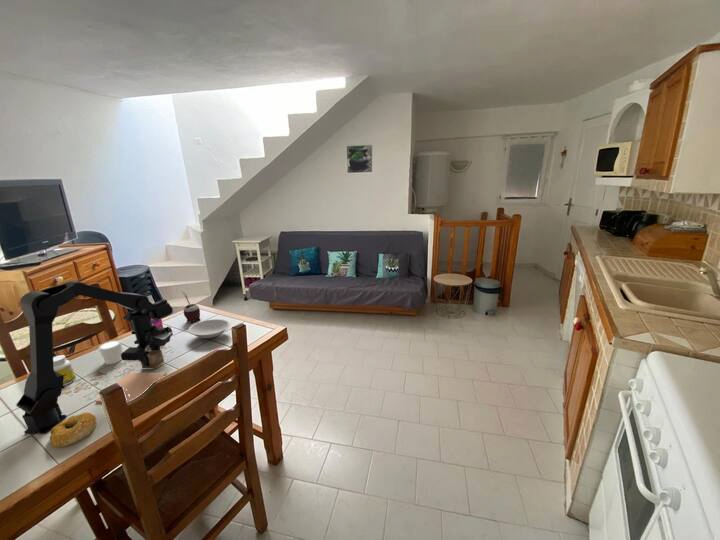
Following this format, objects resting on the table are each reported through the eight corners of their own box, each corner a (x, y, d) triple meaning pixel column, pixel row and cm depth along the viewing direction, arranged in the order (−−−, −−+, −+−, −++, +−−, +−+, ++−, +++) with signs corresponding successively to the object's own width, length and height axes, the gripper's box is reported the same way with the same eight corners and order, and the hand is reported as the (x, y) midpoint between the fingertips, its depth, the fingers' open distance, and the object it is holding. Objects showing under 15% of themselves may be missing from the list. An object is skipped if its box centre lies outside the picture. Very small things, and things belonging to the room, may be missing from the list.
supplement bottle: (51, 388, 103) (41, 364, 100) (61, 378, 108) (52, 355, 105) (70, 385, 105) (61, 361, 102) (79, 375, 110) (71, 352, 107)
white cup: (113, 366, 115) (108, 350, 113) (98, 364, 116) (93, 348, 114) (129, 355, 121) (125, 340, 119) (115, 354, 122) (111, 339, 120)
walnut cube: (155, 369, 113) (152, 357, 111) (142, 369, 113) (139, 357, 111) (164, 361, 118) (161, 350, 116) (151, 361, 118) (148, 350, 116)
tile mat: (138, 403, 96) (137, 401, 96) (96, 402, 96) (95, 400, 96) (166, 374, 109) (165, 373, 109) (129, 374, 110) (128, 372, 109)
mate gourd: (198, 323, 147) (192, 295, 142) (181, 324, 146) (175, 296, 141) (203, 316, 154) (198, 289, 149) (187, 317, 153) (181, 290, 148)
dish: (237, 329, 141) (235, 319, 139) (221, 345, 127) (219, 335, 126) (202, 327, 142) (200, 318, 141) (182, 344, 129) (180, 334, 127)
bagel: (87, 414, 92) (82, 402, 90) (105, 428, 87) (100, 415, 85) (43, 439, 83) (37, 426, 82) (61, 456, 79) (55, 442, 77)
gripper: (146, 339, 101) (156, 378, 106) (179, 314, 119) (187, 348, 123) (114, 339, 101) (126, 377, 106) (152, 314, 119) (160, 348, 124)
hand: (152, 362), depth 115 cm, fingers closed on walnut cube, 5 cm apart
